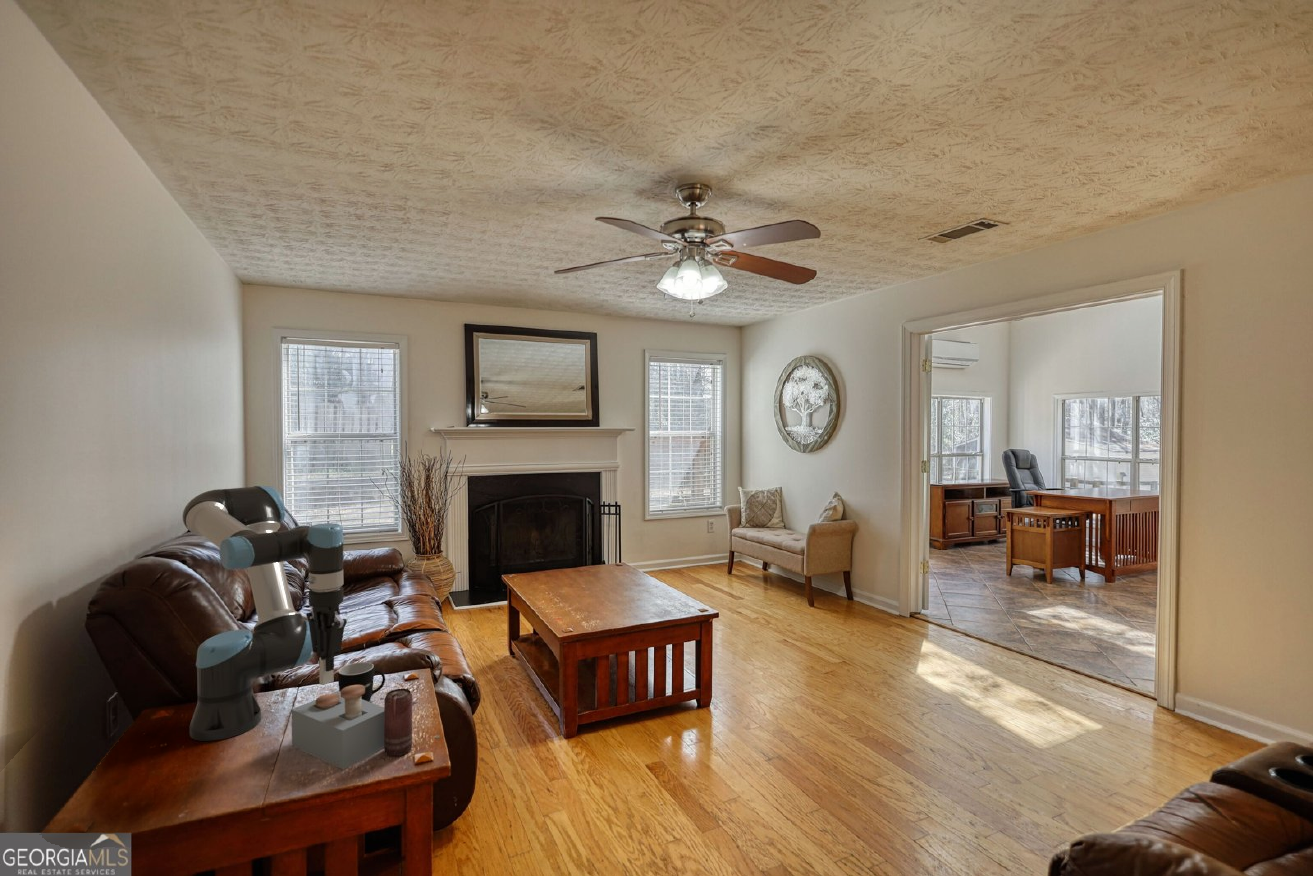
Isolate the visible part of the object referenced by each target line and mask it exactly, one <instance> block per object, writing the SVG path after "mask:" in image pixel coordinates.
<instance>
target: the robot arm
mask: <svg viewBox="0 0 1313 876" xmlns="http://www.w3.org/2000/svg"><path fill="white" fill-rule="evenodd" d="M285 509H286V508H285V503H284V499H283V496H281V493H280V492H279V491H278V490H277V489H276V488H274V487H272V486H268V485H266V486H264V485H263V486H261V485H255V486H247V487H246V486H245V487H236V488H235V487H234V488H224V489H222V488H219V489H218V488H217V489H212V490H208V491H205V492H202V493H200V494H198V495H196V496H195V497H192V499H191V500H190V501H188V502H187V504H186V505H185V507H184V508H183V511H182V522H183V524H184V526H185V528H186V529H187V530H188V531H189V532H190V533H192V534H194V535H196V536H199V537H204V538H205V539H207V540H208V541H209V542H210V543H212V544H213V545H214V546H216V547H217V548H219V559H220V562H221V565H222V566H223V568H224V569H226V570H230V571H231V570H243V569H247V574H248V578H249V582H250V583H249V584H250V586H251V592H252V595H253V596H252V597H253V600H254V606H255V610H256V615H257V619H258V620H257V622H256V624H255V625H254V626H253V628H252V629H253V632H254V633H252V631H251V630H250V629H246V628H242V629H241V628H240V629H236V630H234V629H232V630H229V631H225V632H220V633H219V634H216V635H214V636H212V637H210V638H207V639H205V641H204V642H202V643H201V644H200V645H199V646H198V648H197V652H196V653H197V654H196V661H195V667H196V677H197V678H196V679H197V680H196V681H197V682H196V683H197V687H196V688H197V704H196V707H195V709H194V712H193V715H192V719H191V721H190V724H189V737H190V738H191V739H193V740H195V741H199V742H211V741H220V740H225V739H229V738H232V737H236V736H238V735H241V734H243V733H246V732H248V731H250V730H252V729H253V728H255V727H256V726H258V725H259V724H260V723H261V720H262V709H261V707H260V705H259V702H258V700H257V697H256V696H255V693H254V690H253V688H254V687H253V684H254V683H253V682H254V680H256V679H259V678H260V679H261V678H263V677H266V676H269V675H274V674H277V673H281V672H283V671H288V670H293V669H296V668H297V667H300V666H303V665H305V664H306V665H307V663H308V662H310V660H311V659H312V657H313V656H314V653H316V655H317V657H318V665H319V666H318V667H319V669H318V670H319V671H318V672H319V674H318V675H319V679H318V680H319V685H322V686H325V685H328V684H331V683H333V682H334V680H335V679H334V677H335V676H334V673H335V671H334V669H335V657H337V656H340V655H341V651H342V646H343V637H344V633H345V628H346V625H347V623H348V620H347V619H346V618H342V617H341V616H340V615H341V611H340V604H342V603H343V601H344V587H343V585H344V582H345V581H344V541H345V537H344V533H343V529H344V528H343V526H342V525H341V524H339V523H331V522H330V523H329V522H328V523H317V524H313V525H311V526H309V525H297V526H294V527H293V528H291V529H288V530H281V531H280V530H279V529H280V528H281V523H283V521H284V520H285V517H286V512H285ZM302 559H306V560H308V561H307V562H308V578H307V582H308V588H309V590H308V605H309V607H311V608H312V610H311V611H309V612H307V613H306V614H305V615H306V619H307V620H306V619H305V620H303V616H302V613H301V612H300V611H297V610H295V607H294V604H293V599H292V597H291V592H290V588H289V587H290V586H289V583H288V578H287V574H286V571H285V570H286V569H285V566H284V562H290V561H296V560H302Z"/></svg>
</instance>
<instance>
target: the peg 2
mask: <svg viewBox="0 0 1313 876" xmlns="http://www.w3.org/2000/svg"><path fill="white" fill-rule="evenodd" d="M364 693H365V686H363V685H351V686H348V687H345V688H343V689H342V690H341V697H342V698H345V719H347V720H350V721H351V720H353V719H355V718H358V717H360V716H362V703H361V695H363V694H364Z"/></svg>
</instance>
